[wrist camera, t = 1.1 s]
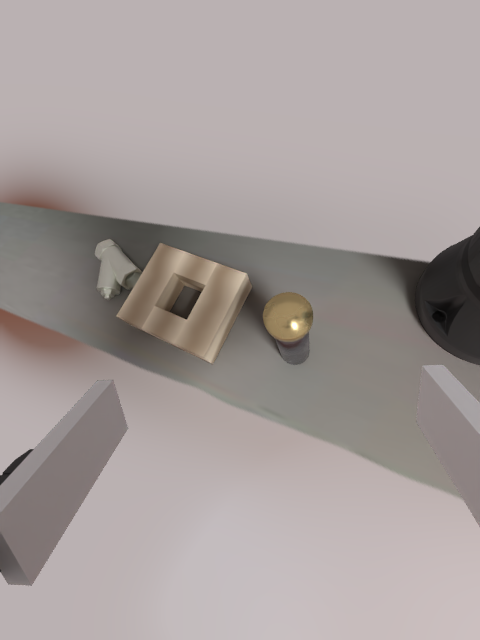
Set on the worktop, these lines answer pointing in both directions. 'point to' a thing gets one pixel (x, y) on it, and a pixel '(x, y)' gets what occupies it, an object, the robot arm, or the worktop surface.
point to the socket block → (206, 316)
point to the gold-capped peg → (289, 325)
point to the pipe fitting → (114, 270)
